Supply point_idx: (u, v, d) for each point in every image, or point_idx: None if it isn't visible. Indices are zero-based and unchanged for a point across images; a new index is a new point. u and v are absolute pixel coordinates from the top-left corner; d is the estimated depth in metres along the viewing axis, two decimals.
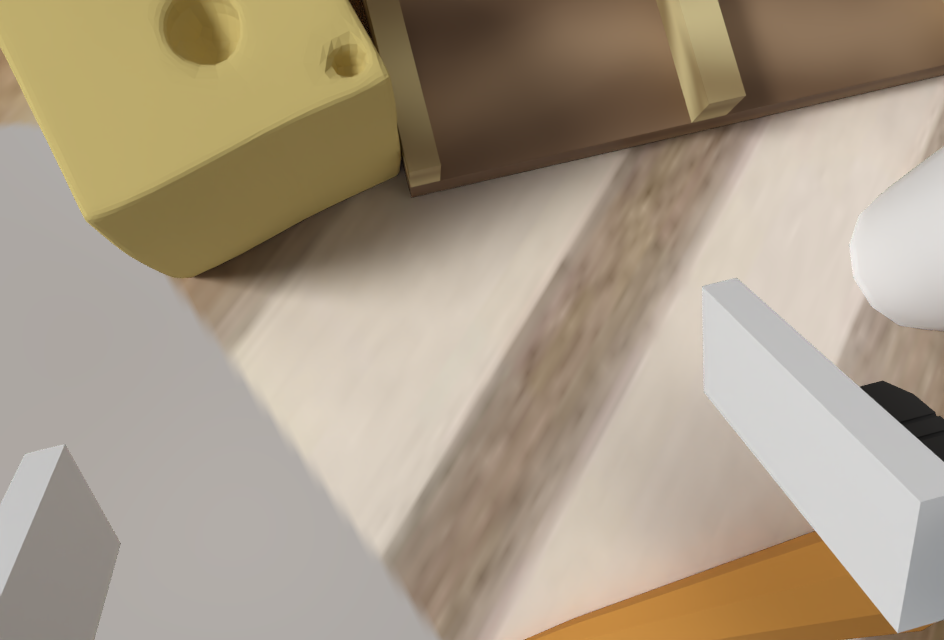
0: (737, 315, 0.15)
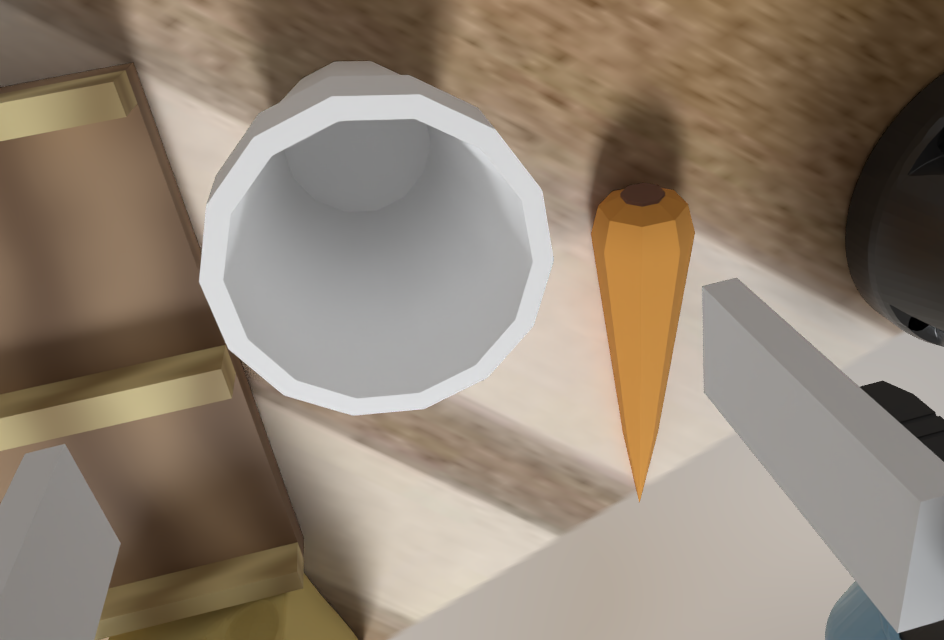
0: (737, 315, 0.15)
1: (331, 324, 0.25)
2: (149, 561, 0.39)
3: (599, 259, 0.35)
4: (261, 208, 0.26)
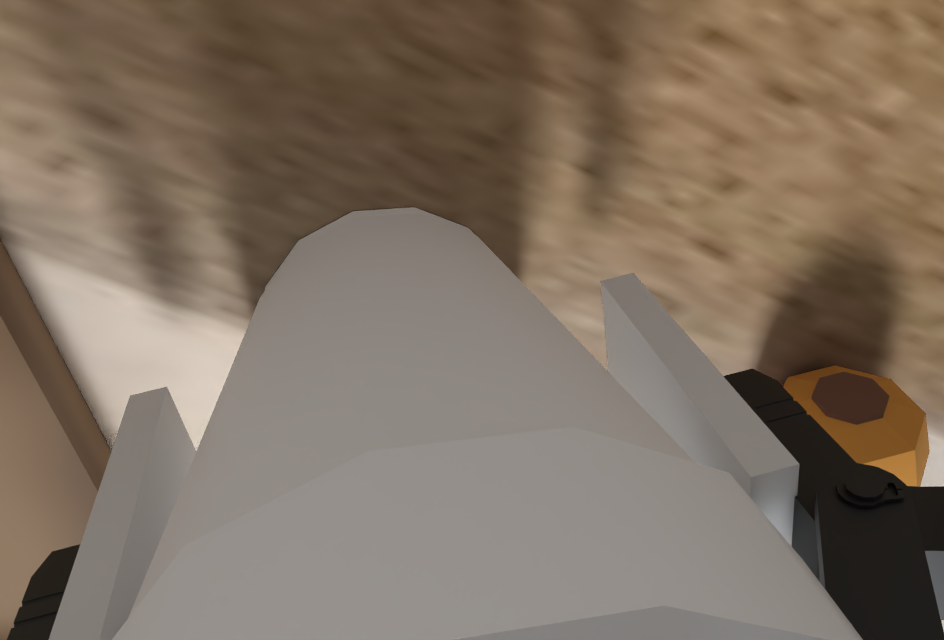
0: (626, 308, 0.16)
1: None
2: None
3: None
4: None
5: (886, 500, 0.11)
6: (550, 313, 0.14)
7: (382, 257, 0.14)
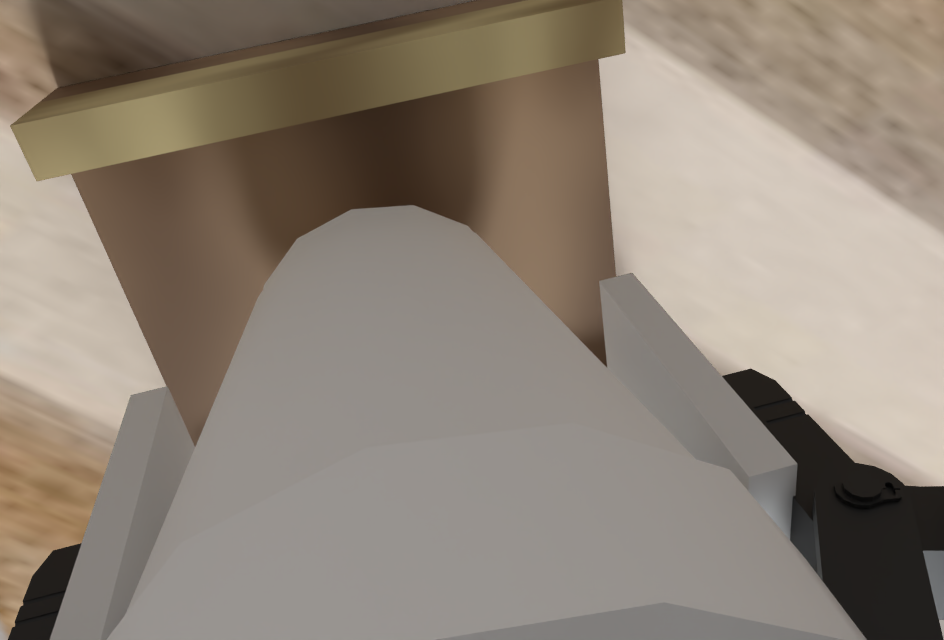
0: (625, 308, 0.16)
1: None
2: None
3: None
4: None
5: (884, 500, 0.11)
6: (550, 310, 0.13)
7: (381, 254, 0.14)
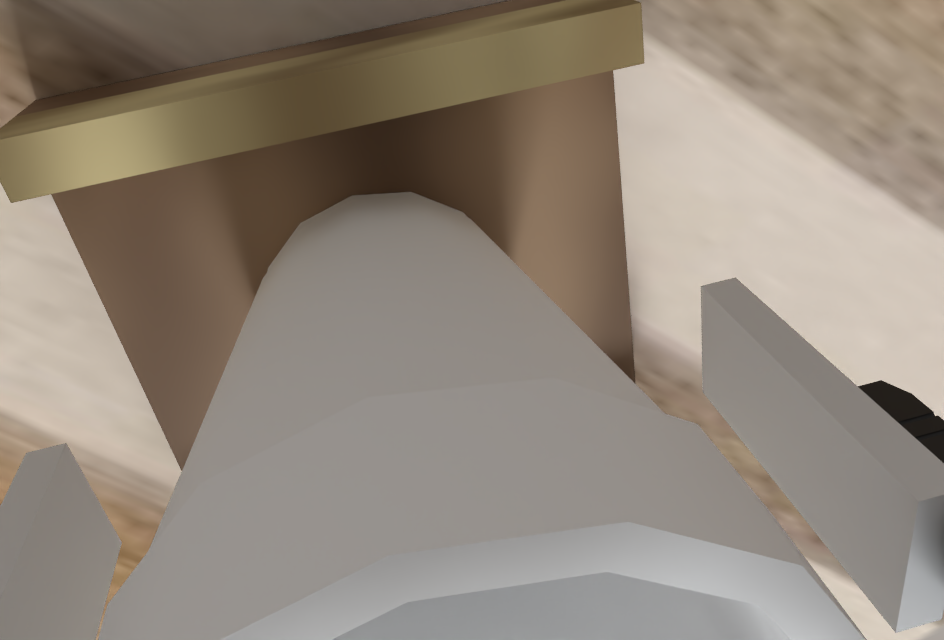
0: (736, 315, 0.15)
1: None
2: None
3: None
4: None
5: None
6: (538, 288, 0.14)
7: (380, 236, 0.15)
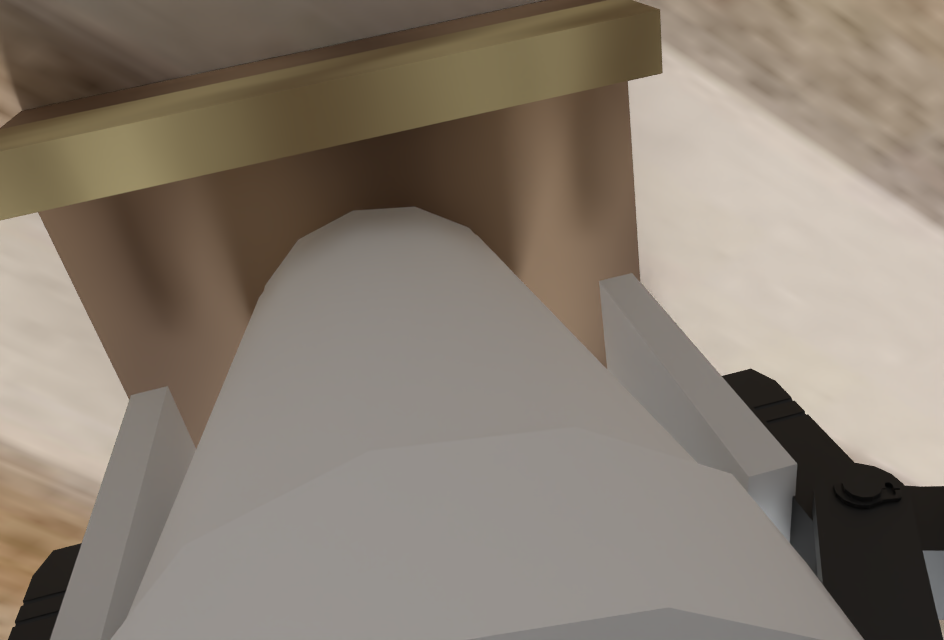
0: (625, 308, 0.16)
1: None
2: None
3: None
4: None
5: (884, 500, 0.11)
6: (551, 313, 0.13)
7: (382, 256, 0.14)
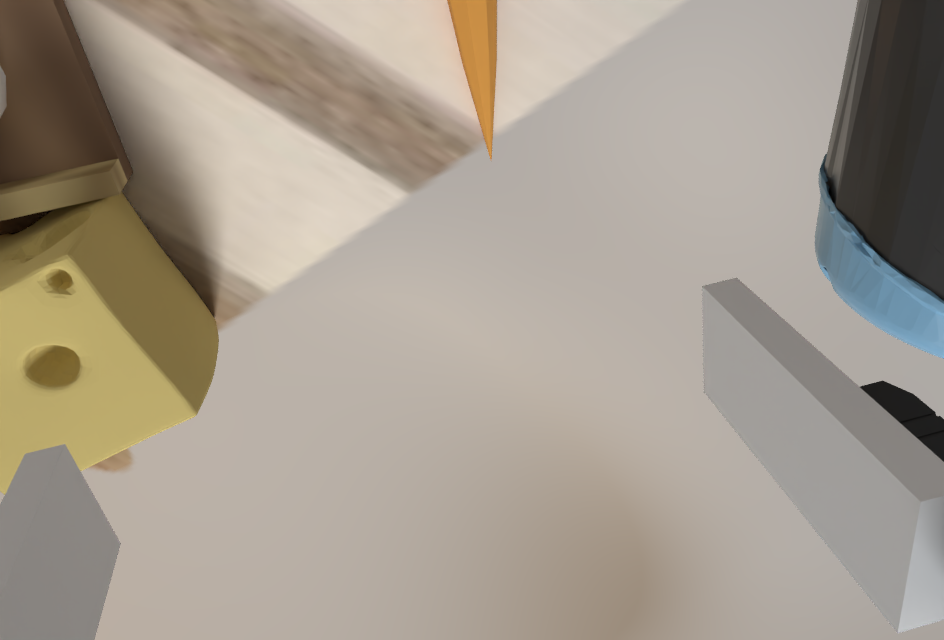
0: (737, 315, 0.15)
1: None
2: None
3: None
4: None
5: None
6: None
7: None
